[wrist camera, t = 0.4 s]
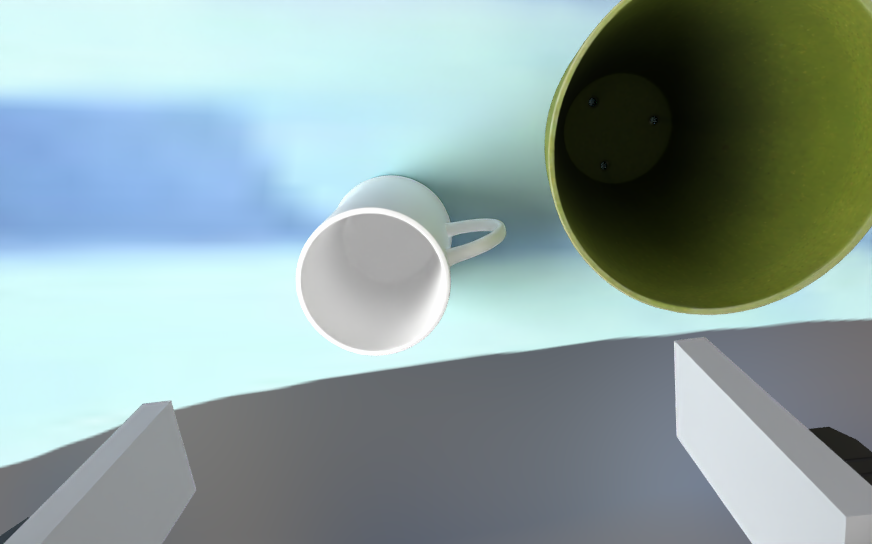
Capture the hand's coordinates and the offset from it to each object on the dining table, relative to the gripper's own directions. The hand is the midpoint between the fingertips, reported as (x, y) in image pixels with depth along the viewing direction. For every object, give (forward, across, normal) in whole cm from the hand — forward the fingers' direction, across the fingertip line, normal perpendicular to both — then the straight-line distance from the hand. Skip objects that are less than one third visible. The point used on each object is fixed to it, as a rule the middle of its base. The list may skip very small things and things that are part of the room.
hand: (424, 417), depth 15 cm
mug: (+28, -2, -1) cm, 28 cm away
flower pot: (+28, +13, +4) cm, 31 cm away
